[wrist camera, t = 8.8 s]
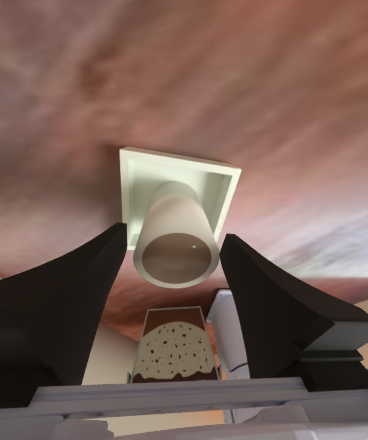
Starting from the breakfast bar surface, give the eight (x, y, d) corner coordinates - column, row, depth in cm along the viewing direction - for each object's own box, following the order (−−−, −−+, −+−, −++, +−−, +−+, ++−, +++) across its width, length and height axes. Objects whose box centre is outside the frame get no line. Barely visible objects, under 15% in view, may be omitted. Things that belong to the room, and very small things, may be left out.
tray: (207, 242, 20) (212, 256, 17) (129, 234, 18) (123, 249, 16) (231, 163, 15) (241, 169, 13) (128, 146, 14) (119, 149, 11)
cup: (194, 228, 18) (207, 290, 11) (149, 223, 17) (133, 286, 10) (204, 185, 15) (231, 230, 8) (152, 177, 14) (133, 220, 8)
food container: (143, 327, 29) (131, 408, 21) (138, 309, 26) (122, 396, 18) (205, 323, 30) (219, 399, 22) (208, 305, 27) (225, 386, 18)
